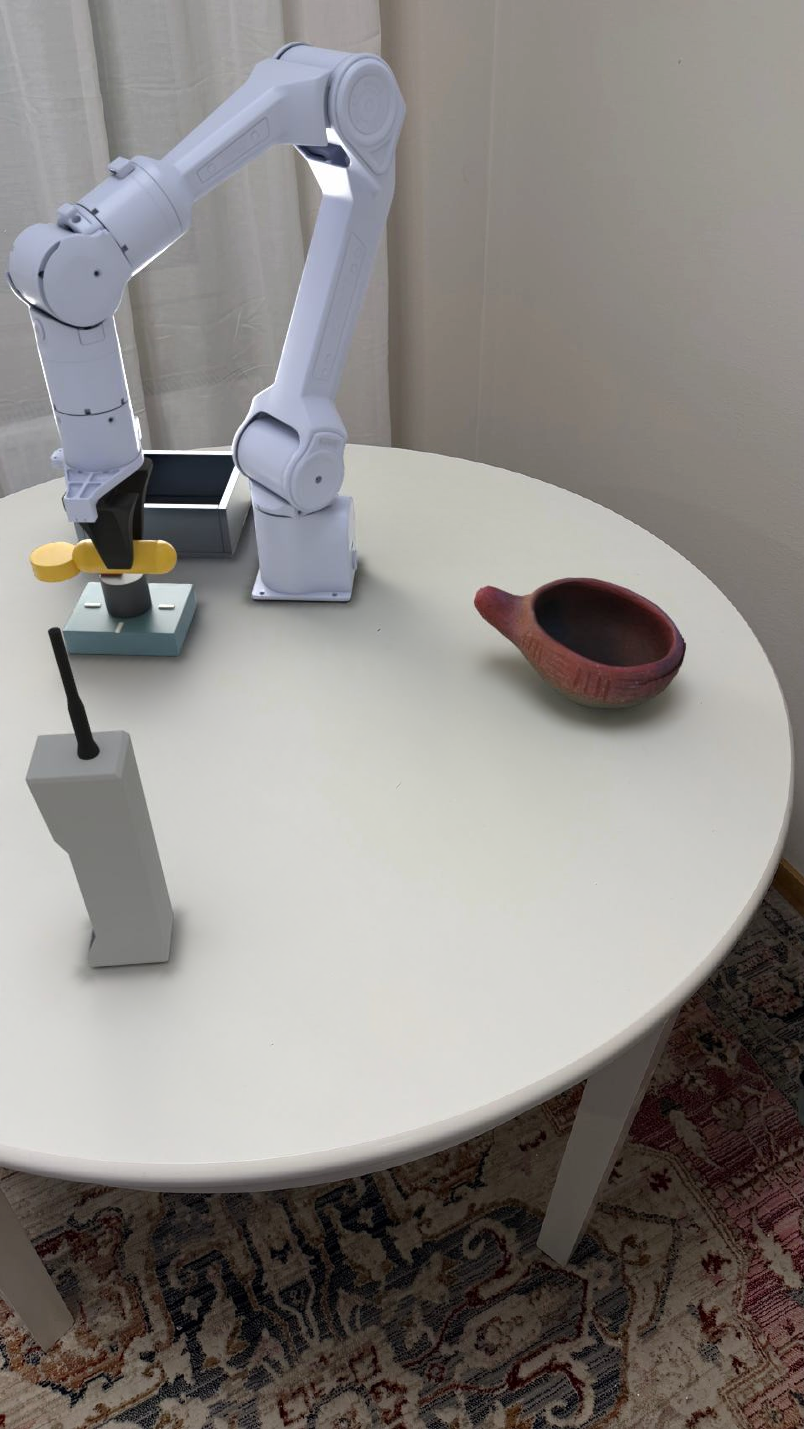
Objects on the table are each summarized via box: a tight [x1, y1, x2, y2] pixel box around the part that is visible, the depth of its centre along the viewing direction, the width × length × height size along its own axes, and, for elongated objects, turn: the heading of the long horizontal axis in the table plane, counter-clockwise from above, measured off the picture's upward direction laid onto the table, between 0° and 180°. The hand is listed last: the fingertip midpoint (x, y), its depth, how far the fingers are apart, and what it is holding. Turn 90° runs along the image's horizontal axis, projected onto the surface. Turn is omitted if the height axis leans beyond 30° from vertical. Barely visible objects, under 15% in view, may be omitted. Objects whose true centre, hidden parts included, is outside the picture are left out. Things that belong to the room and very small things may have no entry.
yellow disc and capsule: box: [28, 540, 178, 584], centre depth 85 cm, size 12×4×3 cm, turn 88°
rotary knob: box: [98, 573, 152, 618], centre depth 90 cm, size 4×4×4 cm
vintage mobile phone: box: [25, 626, 174, 968], centre depth 57 cm, size 4×5×25 cm
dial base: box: [61, 581, 198, 657], centre depth 92 cm, size 10×8×3 cm
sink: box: [73, 449, 252, 559], centre depth 105 cm, size 16×13×6 cm
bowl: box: [473, 577, 687, 709], centre depth 83 cm, size 16×13×8 cm
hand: (125, 556), depth 85 cm, fingers closed on yellow disc and capsule, 3 cm apart
